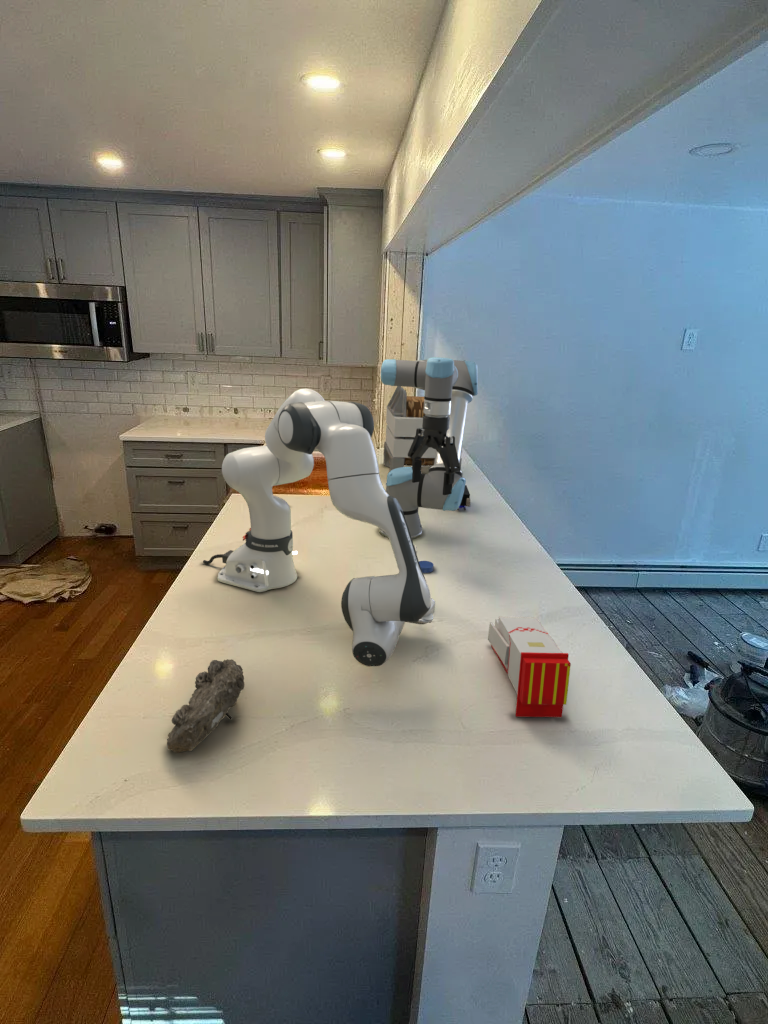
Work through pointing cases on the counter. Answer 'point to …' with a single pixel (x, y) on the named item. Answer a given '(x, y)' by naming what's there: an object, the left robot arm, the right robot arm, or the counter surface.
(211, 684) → the fossil
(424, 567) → the lid
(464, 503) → the figurine character
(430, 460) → the grey slatted crate
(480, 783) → the counter surface
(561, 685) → the toy
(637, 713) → the counter surface
